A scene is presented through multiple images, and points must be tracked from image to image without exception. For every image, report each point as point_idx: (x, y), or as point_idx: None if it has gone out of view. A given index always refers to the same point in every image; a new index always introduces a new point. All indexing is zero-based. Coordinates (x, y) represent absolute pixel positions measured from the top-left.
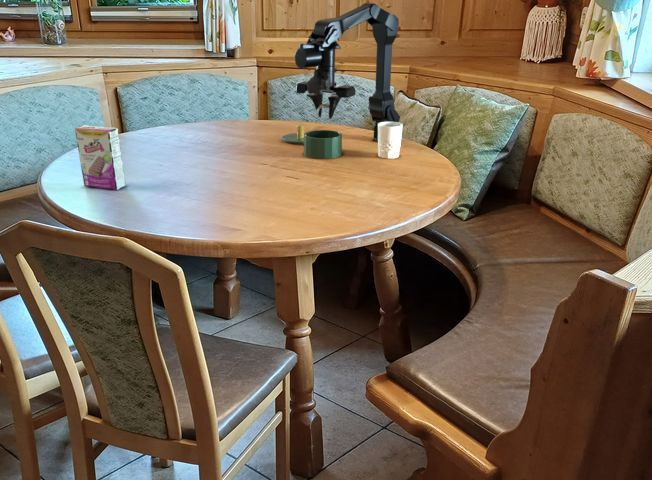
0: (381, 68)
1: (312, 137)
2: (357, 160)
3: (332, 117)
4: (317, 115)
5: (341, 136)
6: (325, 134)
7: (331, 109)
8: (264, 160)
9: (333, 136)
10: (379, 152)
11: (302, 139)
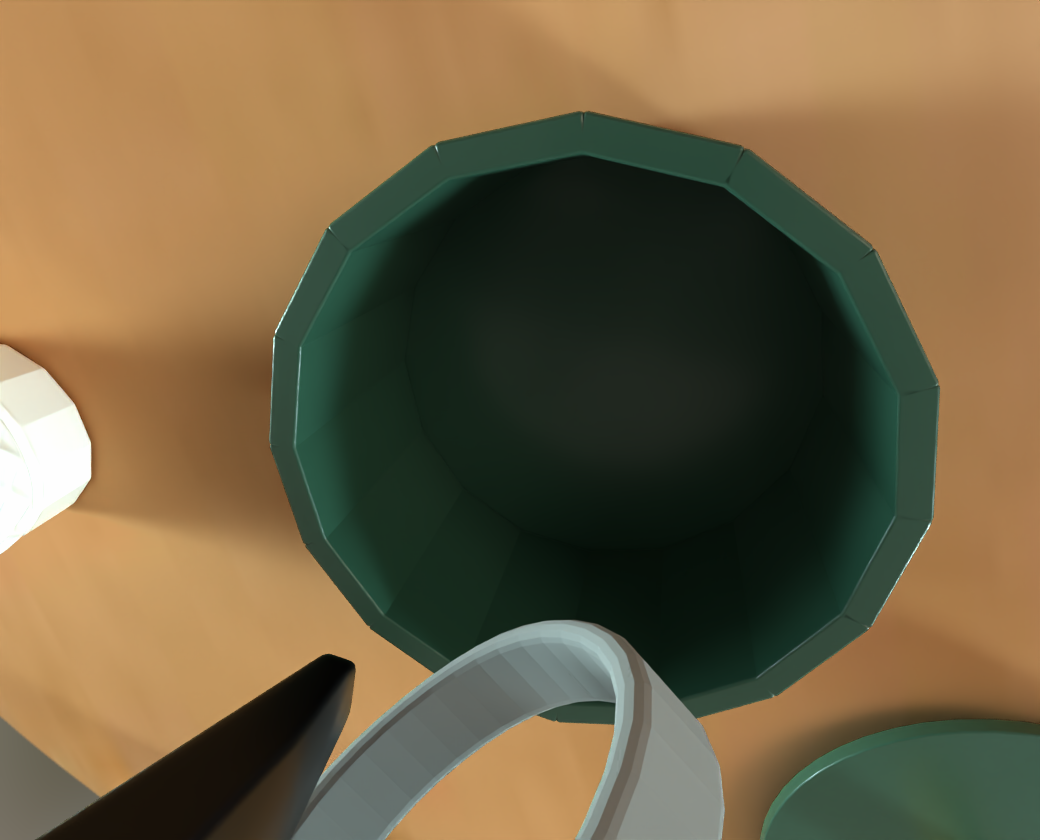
0: None
1: (708, 174)
2: (169, 202)
3: (333, 766)
4: (639, 683)
5: (276, 439)
6: None
7: (69, 827)
8: None
9: (489, 623)
10: (18, 392)
11: (948, 817)
